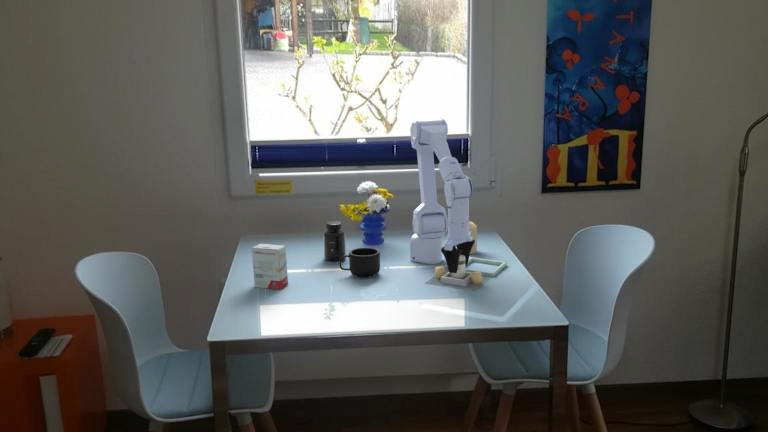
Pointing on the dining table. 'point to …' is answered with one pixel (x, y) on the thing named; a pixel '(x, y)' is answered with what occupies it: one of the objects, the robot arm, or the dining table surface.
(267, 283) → the ink box
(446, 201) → the robot arm
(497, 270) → the parts tray
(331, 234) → the supplement bottle
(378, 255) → the mug
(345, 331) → the dining table surface
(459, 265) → the cylinder
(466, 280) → the fuse panel
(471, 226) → the candle
